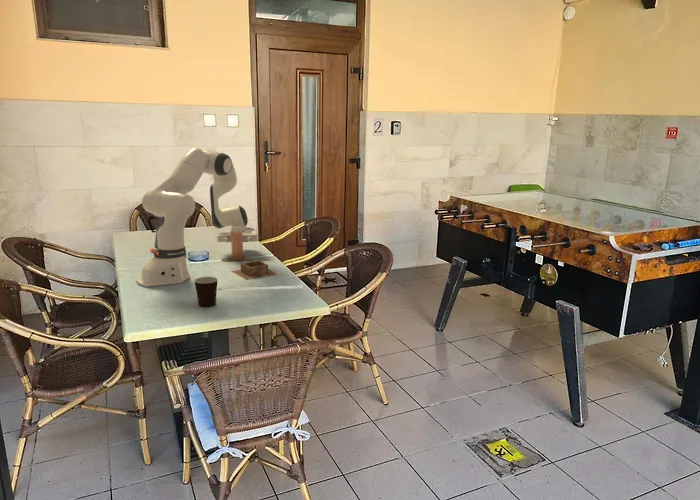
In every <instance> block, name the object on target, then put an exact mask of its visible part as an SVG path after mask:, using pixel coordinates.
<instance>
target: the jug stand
mask: <svg viewBox="0 0 700 500" xmlns="http://www.w3.org/2000/svg"><path fill="white" fill-rule="evenodd" d="M230 272H232V273H233V274H235V275H237V276H238V277H240V278H242V279H244V280H246V281H248V280H255V279H260V278H265V277H270V276H271V277H272V276H275V275H276V276H277V275H278V273H277V272H276V271H273V270H271V269H269V264H267V263H265V262H263V261H260V260H254V261H246V262H241V263H240V269H237V270H230Z"/></svg>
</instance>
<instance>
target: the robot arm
mask: <svg viewBox="0 0 700 500" xmlns="http://www.w3.org/2000/svg"><path fill="white" fill-rule="evenodd" d="M203 174H208V175H212V176H213V183H212V184H211V185H209V186H210V187H209V199H210V200H209V201H210V209H211V210H210V211H211V212H210V213H211V214H210V221H211V224H212V226H213V227H214V228H216V229H223V228H226V227H230V226H231V228H230V232H219V233H218V234H217V236H216V239H217V242H218V243H231V232H234V231H240V232H242V234H243V243H249V242H258V240H259V237H258V236H259V235H258V231H256V230H255V228H253V227H247V225H248V221H249V219H248V214H247V211H246V208H244V207H243V206H241V205H236V206H235V205H233V206H230V207H225V208H220V207H219V199H220V198H221V197H222V196H223V195H226V194H227V193H229V192H231V191H232V190H233V189H234V188H235V187H236V185H237V183H238V179H237V172H236V170H235V167H234V164H233V161H232V158H231V157H230V156H229V155H228V154H226V153H223V152H219V151H214V150H211V149H203V148H202V149H201V148H196V147H194V148H192V149H190V150H188V151H187V153H185V154H184V156H183V157H182V158H181V160H180V161H179V163H178V164H177V166H176V167H175V168H174V170H173V171H172V173H171V174H170V175H169V176H168V178H166V179H165V180H164V181H163V182H161V184H159V185H158V186H156V187H155V188H153V189H151V190H149V191H147V192H145V193H144V195H143V196H142V199H141V203H142V208H143V209H144V210H145V212H147V213H150V214H152V215H153V216H154V215H160V216H165V221H164V224H163V226H161V227H160V228H159V229H158V231H157V238H158V247H156V249H155V247H154V248H150V253H151V254H153V257H152V258H151V259H150V260H149V261H148V262H147V263H145V264H144V265H143V266H142V268H141V275H140V276H138V277H136V278H135V279H136V283H137V284H139V285H140V286H142V287H145V288H146V287H148V288H149V287H150V288H151V287H158V286H165V285H174V284H182V283H184V282H185V281H186V280H189V279H190V277H191V276H190V275H191V274H190V272H189V269H188V263H187V249H186V246H185V226H186V223H187V221H188V219H189V218H190V217H191V216H192V215H193V214H194V212H195V210H196V201H195V200H194V198H193V197H192V196H191V195H190V194H188V193H191V192H192V191H193V190H194V189H195V187H196V186H197V184H198V182H199V181H200V178H201V177H203Z"/></svg>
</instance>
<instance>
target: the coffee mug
mask: <svg viewBox="0 0 700 500" xmlns="http://www.w3.org/2000/svg"><path fill="white" fill-rule="evenodd" d="M194 287H195V292H196V299H197V303H198V307H200V308H205V309H207V308H211V307H215V306H216V305H217V304H216V303H217V294H218V293H217V291H218V278H217V277H215V276H202V277H197V278H195V279H194Z"/></svg>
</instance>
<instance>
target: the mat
mask: <svg viewBox="0 0 700 500" xmlns="http://www.w3.org/2000/svg"><path fill="white" fill-rule="evenodd" d="M221 261H222V262H224V263H232V262H234V263H235V262H236V263H237V262H240V261H232V256H231V257H230V256H229V257H225V258H221ZM253 261H255V260H253V259H251V258H249V257H247V256H245V255H243V260H242V261H241V262H253Z"/></svg>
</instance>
